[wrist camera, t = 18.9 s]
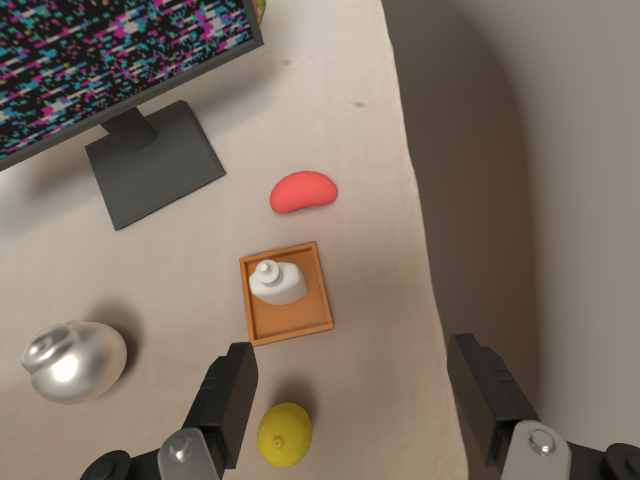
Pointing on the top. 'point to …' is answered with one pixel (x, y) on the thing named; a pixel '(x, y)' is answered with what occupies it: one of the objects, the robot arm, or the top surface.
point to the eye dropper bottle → (278, 282)
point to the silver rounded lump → (74, 361)
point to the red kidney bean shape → (302, 191)
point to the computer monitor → (117, 88)
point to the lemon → (284, 435)
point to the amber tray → (293, 317)
